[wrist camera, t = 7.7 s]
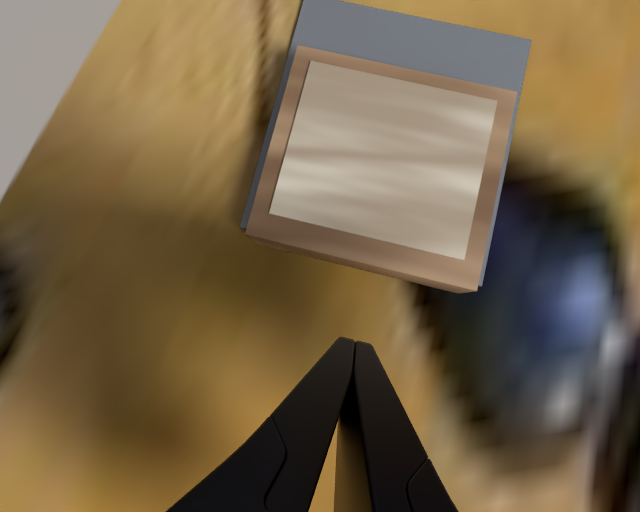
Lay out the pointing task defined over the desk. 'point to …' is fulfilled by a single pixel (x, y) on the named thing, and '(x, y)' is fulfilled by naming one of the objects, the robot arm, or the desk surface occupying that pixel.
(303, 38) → the grey square plate
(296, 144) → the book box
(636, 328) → the desk surface
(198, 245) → the desk surface
